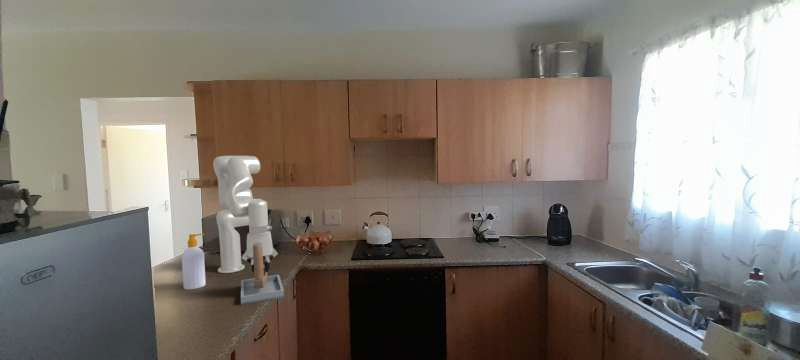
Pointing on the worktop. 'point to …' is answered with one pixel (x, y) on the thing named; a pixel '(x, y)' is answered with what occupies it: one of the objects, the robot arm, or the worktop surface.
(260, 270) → the wooden mallet
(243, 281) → the tray
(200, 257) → the soap bottle
